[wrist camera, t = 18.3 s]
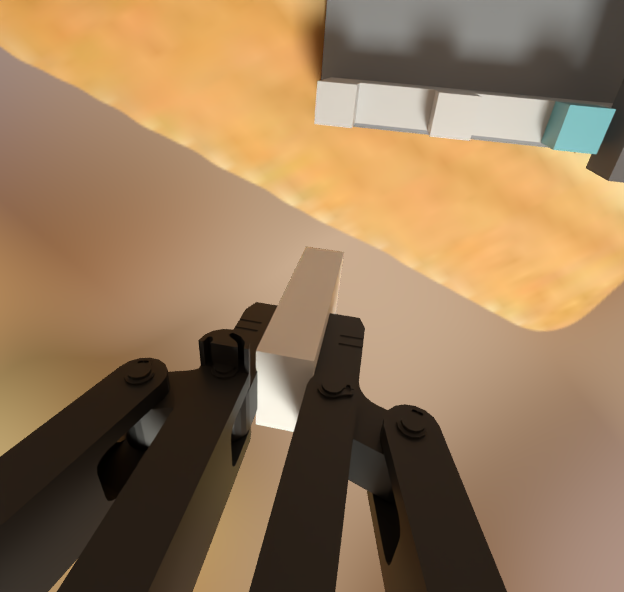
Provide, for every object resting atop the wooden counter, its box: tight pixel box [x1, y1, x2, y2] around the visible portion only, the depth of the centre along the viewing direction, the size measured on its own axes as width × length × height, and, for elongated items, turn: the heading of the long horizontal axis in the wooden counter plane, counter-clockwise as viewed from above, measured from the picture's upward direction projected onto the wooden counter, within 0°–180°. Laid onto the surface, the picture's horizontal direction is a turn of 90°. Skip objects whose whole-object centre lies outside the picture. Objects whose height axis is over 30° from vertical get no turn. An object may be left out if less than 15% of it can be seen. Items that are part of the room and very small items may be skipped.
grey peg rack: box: [314, 0, 624, 154], centre depth 29 cm, size 18×32×9 cm, turn 86°
